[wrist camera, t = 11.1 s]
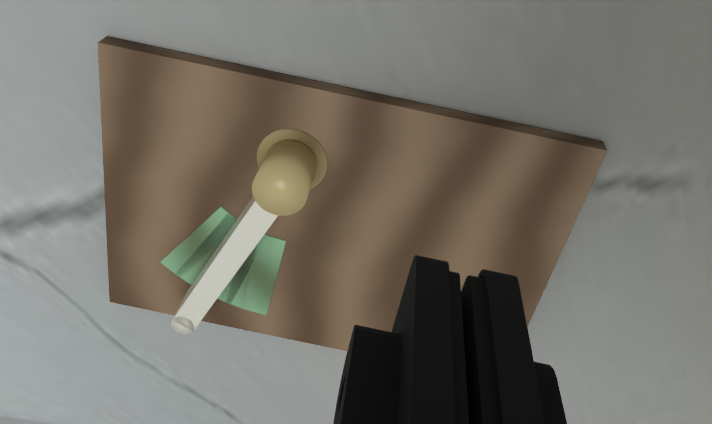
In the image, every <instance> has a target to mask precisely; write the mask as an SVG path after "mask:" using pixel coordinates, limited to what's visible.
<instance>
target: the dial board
mask: <svg viewBox="0 0 712 424" xmlns="http://www.w3.org/2000/svg"><path fill="white" fill-rule="evenodd" d="M98 56H99V77H100V99H101V121H102V143H103V164H104V186H105V208H106V229H107V251H108V273H109V295H110V302H114V303H118V304H123V305H128V306H133V307H138V308H142V309H147V310H152V311H157V312H162V313H167V314H171V315H175V314H176V312H177V310H178V308H179V306H180V304H181V302H182V300H183V298H184V296H185V294H186V292H187V291H188V289H189V288H190V286H191V285H192V284H193V282H194V281H195V279H196V278H197V276H198V275H199V273H200V272H201V271H202V269H203V268H204V266H205V265H206V263H207V262H208V260H209V259H210V257H211V256H212V255H213V253H214V252H215V250H216V249H217V247H218V246H219V244H220V243H221V242H222V240H223V239H224V237H225V236H226V234H227V233H228V231H229V230H230V228H231V227H232V226H233V224H234V223H235V221H236V220H237V218H238V217H239V215H240V214H241V213H242V211H243V210H244V208H245V207H246V205H247V204H248V202H249V201H250V199H251V198H252V197H253V194H252V183H253V180H254V178H255V176H256V174H257V172H258V170H259V168H260V166H261V164H262V162H263V160H264V158H265V156H266V154H267V152H268V150H269V149H270V148H271V147H272V146H273V145H274V144H276V143H278V142H281V141H295V142H299V143H301V144H303V145H304V146H306V147H307V148H308V149H309V150H310V151H311V152H312V153H313V155H314V157H315V160H316V164H317V168H316V173H315V176H314V179H313V182H312V185H311V188H310V191H309V194H308V197H307V200H306V203H305V205H304V206H303V208H302V209H301V210H299V211H298V212H297V213H295V214H292V215H288V216H278V217H277V218H276V219H275V221H274V222H273V223H272V225H271V226H270V227H269V229H268V230H267V232H266V233H265V234H264V236H263V237H262V238H261V240H260V241H259V242H258V244H257V245H256V247H255V248H254V249H253V251H252V252H251V253H250V255H249V256H248V257H247V259H246V260H245V261H244V263H243V264H242V266H241V267H240V268H239V270H238V271H237V272H236V274H235V275H234V276H233V278H232V279H231V281H230V282H229V283H228V285H227V286H226V287H225V289H224V290H223V291H222V293H221V294H220V295H219V297H218V298H217V300H216V301H215V302H214V304H213V305H212V306H211V308H210V309H209V310H208V312H207V313H206V314H205V316H204V317H203V319H202V320H201V321H205V322H210V323H215V324H220V325H224V326H229V327H234V328H239V329H244V330H248V331H253V332H258V333H263V334H268V335H272V336H277V337H282V338H287V339H292V340H297V341H301V342H306V343H311V344H316V345H321V346H325V347H330V348H335V349H340V350H345V351H348V348H349V343H350V339H351V335H352V332H353V328H354V325H359V326H364V327H369V328H374V329H378V330H383V331H388V332H392V329H393V325H394V322H395V318H396V315H397V311H398V308H399V305H400V301H401V298H402V294H403V291H404V287H405V284H406V281H407V277H408V274H409V270H410V267H411V264H412V261H413V258H414V256H415V255H418V256H423V257H428V258H433V259H437V260H442V261H447V262H448V263H449V271H452V272H456V273H459V274H460V284H461V290H462V287H463V285H464V282H465V280H466V278H467V276H468V275H471V276H475V277H478V275H479V273H480V271H481V270H483V269H485V270H490V271H495V272H499V273H504V274H509V275H514V276H516V277H517V278H518V281H519V286H520V291H521V297H522V302H523V307H524V313H525V318H526V323H527V326H528V324H529V322H530V320H531V317H532V315H533V313H534V311H535V309H536V306H537V304H538V302H539V300H540V298H541V295H542V293H543V291H544V289H545V287H546V284H547V282H548V280H549V278H550V276H551V273H552V271H553V269H554V267H555V265H556V262H557V260H558V258H559V256H560V254H561V251H562V249H563V247H564V245H565V243H566V240H567V238H568V236H569V234H570V231H571V229H572V227H573V225H574V223H575V220H576V218H577V216H578V214H579V212H580V209H581V207H582V205H583V203H584V201H585V198H586V196H587V194H588V192H589V190H590V187H591V185H592V183H593V181H594V179H595V176H596V174H597V172H598V170H599V168H600V165H601V163H602V161H603V159H604V157H605V154H606V152H607V149H606V148H605V146H604V144H603V142H602V141H597V140H592V139H588V138H583V137H578V136H574V135H569V134H564V133H560V132H555V131H550V130H545V129H541V128H536V127H531V126H527V125H522V124H517V123H512V122H508V121H503V120H498V119H494V118H489V117H484V116H480V115H475V114H470V113H465V112H461V111H456V110H451V109H447V108H442V107H437V106H433V105H428V104H423V103H418V102H414V101H409V100H404V99H400V98H395V97H390V96H385V95H381V94H376V93H371V92H367V91H362V90H357V89H353V88H348V87H343V86H338V85H334V84H329V83H324V82H320V81H315V80H310V79H306V78H301V77H296V76H291V75H287V74H282V73H277V72H273V71H268V70H263V69H258V68H254V67H249V66H244V65H240V64H235V63H230V62H226V61H221V60H216V59H211V58H207V57H202V56H197V55H193V54H188V53H183V52H179V51H174V50H169V49H164V48H160V47H155V46H150V45H146V44H141V43H136V42H131V41H127V40H122V39H117V38H113V37H108V36H107V37H105V38H104V39H102V40H101V41H99V42H98Z"/></svg>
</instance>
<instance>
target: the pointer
mask: <svg viewBox="0 0 712 424" xmlns="http://www.w3.org/2000/svg"><path fill="white" fill-rule="evenodd" d="M316 168H317V164H316V160H315V157H314V155H313V153H312V152H311V151H310V150H309V149H308V148H307V147H306V146H304V145H303V144H301V143H299V142H295V141H281V142H278V143H276V144H274V145H273V146H272V147H271V148H270V149H269V150H268V152H267V154H266V156H265V158H264V160H263V162H262V164H261V166H260V168H259V170H258V172H257V174H256V176H255V178H254V180H253V183H252V194H253V197H252V198H251V199H250V201H249V202H248V204H247V205H246V207H245V208H244V210H243V211H242V213H241V214H240V215H239V217H238V218H237V220H236V221H235V223H234V224H233V226H232V227H231V228H230V230H229V231H228V233H227V234H226V236H225V237H224V239H223V240H222V242H221V243H220V244H219V246H218V247H217V249H216V250H215V252H214V253H213V255H212V256H211V257H210V259H209V260H208V262H207V263H206V265H205V266H204V268H203V269H202V271H201V272H200V273H199V275H198V276H197V278H196V279H195V281H194V282H193V284H192V285H191V286H190V288H189V289H188V291H187V292H186V294H185V296H184V298H183V300H182V302H181V304H180V306H179V308H178V310H177V312H176V314H175V316H174V318H173V319H172V322H171V325H172V328H173V329H174V330H175V331H176V332H178V333H180V334H190V333H192V332H193V331H194V329H195V328H196V327H197V325H198V324H199V323H200V321H201V320H202V319H203V317H204V316H205V314H206V313H207V312H208V310H209V309H210V308H211V306H212V305H213V304H214V302H215V301H216V300H217V298H218V297H219V295H220V294H221V293H222V291H223V290H224V289H225V287H226V286H227V285H228V283H229V282H230V281H231V279H232V278H233V276H234V275H235V274H236V272H237V271H238V270H239V268H240V267H241V266H242V264H243V263H244V261H245V260H246V259H247V257H248V256H249V255H250V253H251V252H252V251H253V249H254V248H255V247H256V245H257V244H258V242H259V241H260V240H261V238H262V237H263V236H264V234H265V233H266V232H267V230H268V229H269V227H270V226H271V225H272V223H273V222H274V221H275V219H276V218H277V217H278V216H288V215H292V214H295V213H297V212H298V211H299V210H301V209H302V208H303V206H304V205H305V203H306V200H307V197H308V194H309V191H310V188H311V185H312V182H313V179H314V176H315V173H316Z"/></svg>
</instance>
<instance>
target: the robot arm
mask: <svg viewBox="0 0 712 424" xmlns="http://www.w3.org/2000/svg"><path fill="white" fill-rule="evenodd" d="M334 424H567V422H566V418H565V413H564V409H563V404H562V400H561V395H560V391H559V386H558V382H557V377H556V375H555V372H554V369H553V368H552V367H551V366H550V365H547V364H542V363H537V362H534V361H533V356H532V350H531V345H530V340H529V334H528V329H527V323H526V318H525V313H524V307H523V302H522V297H521V291H520V286H519V281H518V278H517V277H516V276H514V275H509V274H504V273H499V272H495V271H490V270H485V269H483V270H481V271H480V273H479V275H478V277H475V276H471V275H468V276H467V278H466V280H465V282H464V285H463V287H462V290H461V284H460V274H459V273H456V272H452V271H449V263H448V262H447V261H442V260H437V259H433V258H428V257H423V256H418V255H415V256H414V258H413V261H412V264H411V267H410V270H409V274H408V277H407V281H406V284H405V287H404V291H403V294H402V298H401V301H400V305H399V308H398V311H397V315H396V318H395V322H394V325H393V329H392V332H388V331H383V330H378V329H374V328H369V327H364V326H359V325H354V328H353V332H352V335H351V339H350V343H349V348H348V352H347V356H346V360H345V364H344V369H343V374H342V379H341V384H340V389H339V394H338V399H337V405H336V411H335V417H334Z"/></svg>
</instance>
